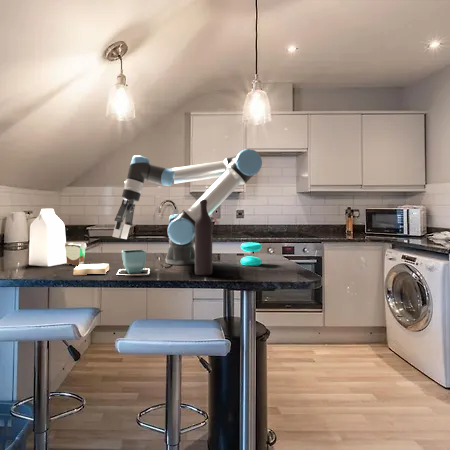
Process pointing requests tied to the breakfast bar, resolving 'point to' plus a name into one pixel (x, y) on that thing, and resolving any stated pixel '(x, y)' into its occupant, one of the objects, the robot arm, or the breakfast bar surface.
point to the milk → (47, 240)
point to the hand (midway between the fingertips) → (119, 238)
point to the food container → (75, 253)
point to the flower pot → (134, 260)
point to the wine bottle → (203, 241)
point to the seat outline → (133, 274)
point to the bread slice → (91, 269)
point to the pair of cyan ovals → (251, 260)
